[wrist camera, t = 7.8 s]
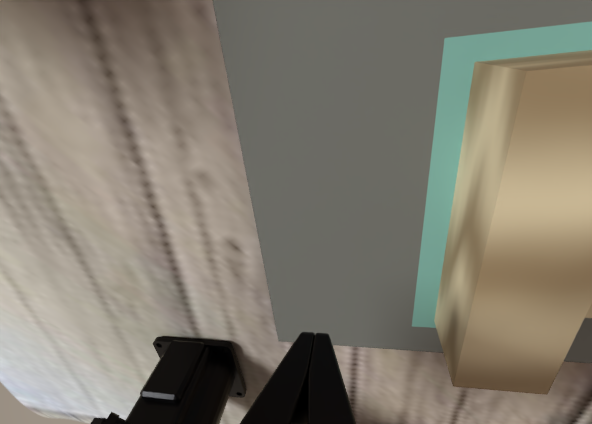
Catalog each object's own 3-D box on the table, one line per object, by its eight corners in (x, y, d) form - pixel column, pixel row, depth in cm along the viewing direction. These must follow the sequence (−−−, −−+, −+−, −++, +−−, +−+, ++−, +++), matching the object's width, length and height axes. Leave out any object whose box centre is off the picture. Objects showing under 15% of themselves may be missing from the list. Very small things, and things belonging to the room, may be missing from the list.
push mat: (690, 364, 17) (697, 370, 17) (279, 336, 22) (278, 341, 21) (1098, -137, 8) (1134, -145, 7) (216, 0, 12) (212, -1, 12)
